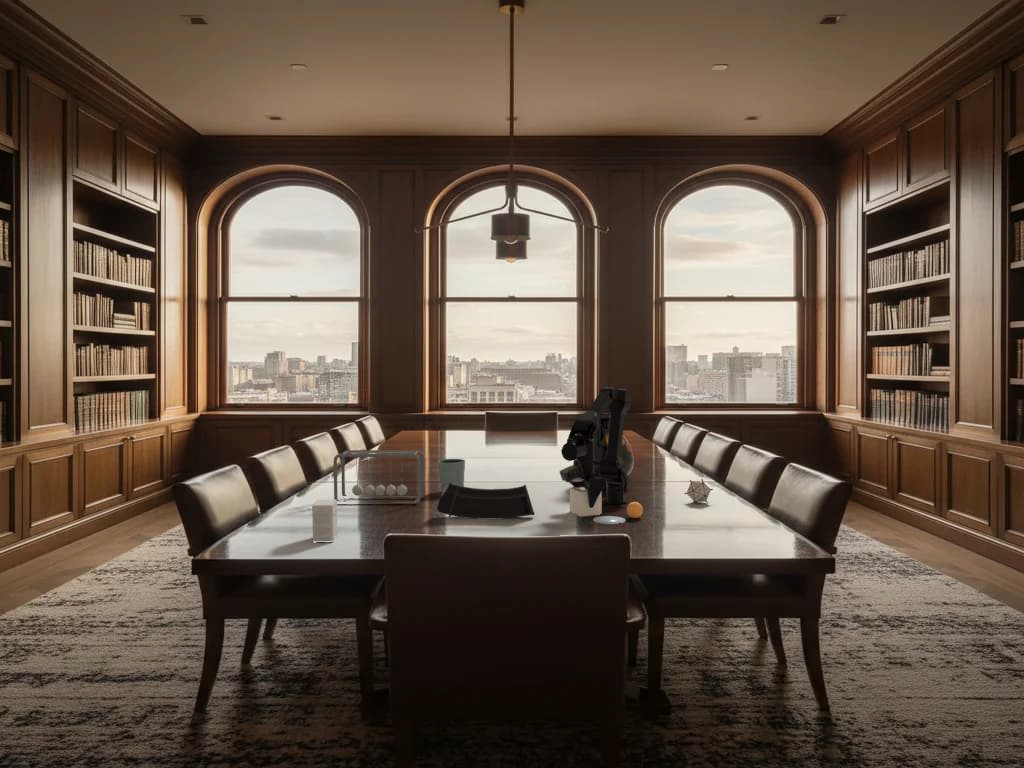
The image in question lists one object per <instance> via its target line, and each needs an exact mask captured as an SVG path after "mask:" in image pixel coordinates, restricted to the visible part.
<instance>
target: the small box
mask: <svg viewBox="0 0 1024 768" xmlns="http://www.w3.org/2000/svg"><path fill="white" fill-rule="evenodd" d="M311 508H312V509H311V510H312V512H311V513H312V542H313V541H332V540H334V538H335V536H336V535H337V536H338V504H337V500H334V499H317V500H316V501H315V502H314V504H313V505H311ZM337 536H336V537H337ZM335 539H336V538H335ZM334 541H335V540H334Z"/></svg>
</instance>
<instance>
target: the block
mask: <svg viewBox="0 0 1024 768" xmlns="http://www.w3.org/2000/svg"><path fill="white" fill-rule="evenodd" d="M602 491H603V490H602ZM602 491H601V493H600V494H599V496H598V498H597V500H596V502H595V505H594V507H593V508H590V507H589V500H588V492H587V490H586V489H585V488H584V487H575V488H574V487H570V488H569V513H572V514H574V515H576V516H578V517H580V518H581V517H589V516H590V517H592V516H600V514H602V511H603V510H602V509H603V508H602V505H603V504H602V502H603V499H602V498H603V497H602V494H603V493H602ZM602 515H603V514H602Z"/></svg>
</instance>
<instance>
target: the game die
mask: <svg viewBox="0 0 1024 768" xmlns="http://www.w3.org/2000/svg"><path fill="white" fill-rule="evenodd" d="M713 490H714V488H710V486H708V485H707V484H706V483H705V481H704V479H703V478H701V480H697V481H696V480H695V481H692V480H691V479H689V486H688V488H687V491H686V492H684V493H683V494H684V495H687V496H688V497H690V499H691V500H692V501H693V502H694V503H693V504H694V505H696V503H702V502H703V503H704V502H705V503H706V502H707V503H706V504H708V503H709V502H708V501H707V500H708V498H709V496H710V493H711V491H713Z"/></svg>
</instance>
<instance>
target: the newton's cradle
mask: <svg viewBox="0 0 1024 768" xmlns="http://www.w3.org/2000/svg"><path fill="white" fill-rule="evenodd" d="M417 454H418V455H417ZM419 455H420V456H419ZM339 458H340V460H341V461H340V462H341V463H340V464H341V465H340V467H341V471H340V472H341V495H342V497H343V496H347V495H346V475H345V474H346V473H345V472H346V471H345V470H346V469H345V463H346V462H345V458H355V461H356V462H355V464H356V467H355V468H358V464H360V459H361V458H366V460H367V461H366V462H367V464H371V461H372V460H371V459H372V458H377V463H378V466H380V459H379V458H388V463H389V469H390V476H389V481H390V483H389V485H387V486H386V487H385V485H383V484H382V482H381V481H382V480H381V479H382V478H381V477H382V471H379V473H378V477H379V478H378V479H379V484H378V485H377V486H375V487H374V486H373V485H371V480H370V471H367V474H368V476H367V477H368V478H367V479H368V485H366V486H365V487H364V489H363V487H362V485H360V484H359V481H356V485H354V486H353V487H352V489H351V491H352V494H353V496H360V495H362V494H363V492H364V494H365V496H373V495H374V494H376V496H383V497H408V498H417V499H414V501H390V502H391V503H393V502H394V503H418V504H419V503H420V501H421V499H420V498H422V499H423V498H425V494H426V491H425V490H426V487H425V485H426V482H425V481H426V477H425V472H426V471H425V467H426V466H425V454H424V452H423V451H422V450H419V449H403V450H402V449H398V450H396V449H393V450H392V449H387V450H386V449H385V450H384V449H380V450H378V449H373V450H371V449H368V450H367V449H366V450H365V449H362V450H361V449H360V450H359V449H358V450H357V449H355V450H354V449H353V450H352V449H350V450H349V449H348V450H344V451H343V452H342V453H338V454H335V456H334V458H333V498H334V499H333V500H337V501H340V500H339V498H338V459H339ZM357 458H358V459H357ZM368 458H369V459H368ZM390 458H401V459H402V460H401V461H399V464H400V465H399V467H400V471H403V470H404V469H403V464H404V463H403V462H404V458H415V459H416V496H410V495H408V496H407V495H406V494H407V493H408V488H407V487H406V485H404V484H403V479H400V485H398V486H397V488H396V486H395V485H392V480H393V479H392V477H393V476H392V474H393V470H392V469H393V462H391V461H390ZM368 460H369V461H368ZM359 472H360V470H357V480H359V477H360V473H359ZM385 493H386V495H388V496H385ZM395 494H397V496H396V495H395ZM405 495H406V496H405Z"/></svg>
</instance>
